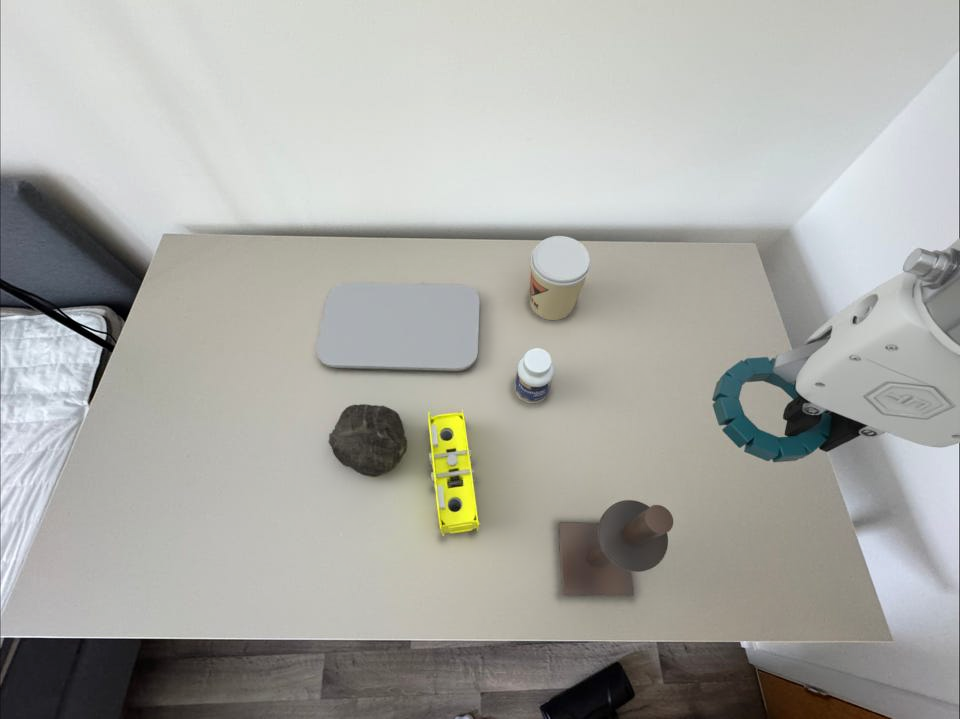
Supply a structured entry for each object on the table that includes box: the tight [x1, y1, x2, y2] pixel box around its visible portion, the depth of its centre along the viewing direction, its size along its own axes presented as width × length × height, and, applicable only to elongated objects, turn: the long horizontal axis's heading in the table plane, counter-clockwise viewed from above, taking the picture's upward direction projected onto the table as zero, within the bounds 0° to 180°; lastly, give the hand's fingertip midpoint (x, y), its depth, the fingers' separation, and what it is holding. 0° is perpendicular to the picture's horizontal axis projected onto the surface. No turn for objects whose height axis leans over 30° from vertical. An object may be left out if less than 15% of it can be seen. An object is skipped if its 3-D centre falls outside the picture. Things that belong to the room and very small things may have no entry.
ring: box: [711, 356, 832, 463], centre depth 42 cm, size 9×9×2 cm
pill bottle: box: [514, 347, 555, 404], centre depth 75 cm, size 5×5×10 cm
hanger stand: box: [557, 499, 674, 597], centre depth 55 cm, size 9×9×28 cm
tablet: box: [315, 281, 481, 372], centre depth 84 cm, size 16×26×2 cm, turn 88°
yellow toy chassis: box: [427, 409, 481, 537], centre depth 69 cm, size 16×6×8 cm, turn 8°
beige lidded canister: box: [529, 235, 592, 321], centre depth 82 cm, size 9×9×12 cm
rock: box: [328, 403, 408, 478], centre depth 71 cm, size 10×11×10 cm
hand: (808, 427), depth 42 cm, fingers closed on ring, 2 cm apart
